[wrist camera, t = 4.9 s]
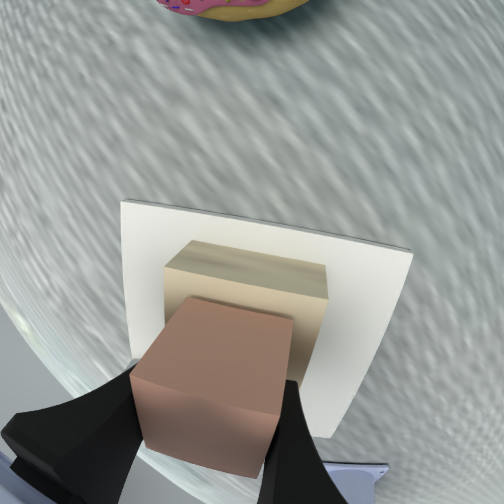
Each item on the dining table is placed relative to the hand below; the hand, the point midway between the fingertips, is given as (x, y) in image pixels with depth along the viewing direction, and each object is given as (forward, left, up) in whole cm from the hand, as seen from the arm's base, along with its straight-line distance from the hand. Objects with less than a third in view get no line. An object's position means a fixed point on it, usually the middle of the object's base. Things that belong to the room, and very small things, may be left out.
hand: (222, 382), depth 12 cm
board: (-3, 0, -6) cm, 7 cm away
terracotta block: (0, 0, -2) cm, 2 cm away
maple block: (0, 0, -6) cm, 6 cm away
